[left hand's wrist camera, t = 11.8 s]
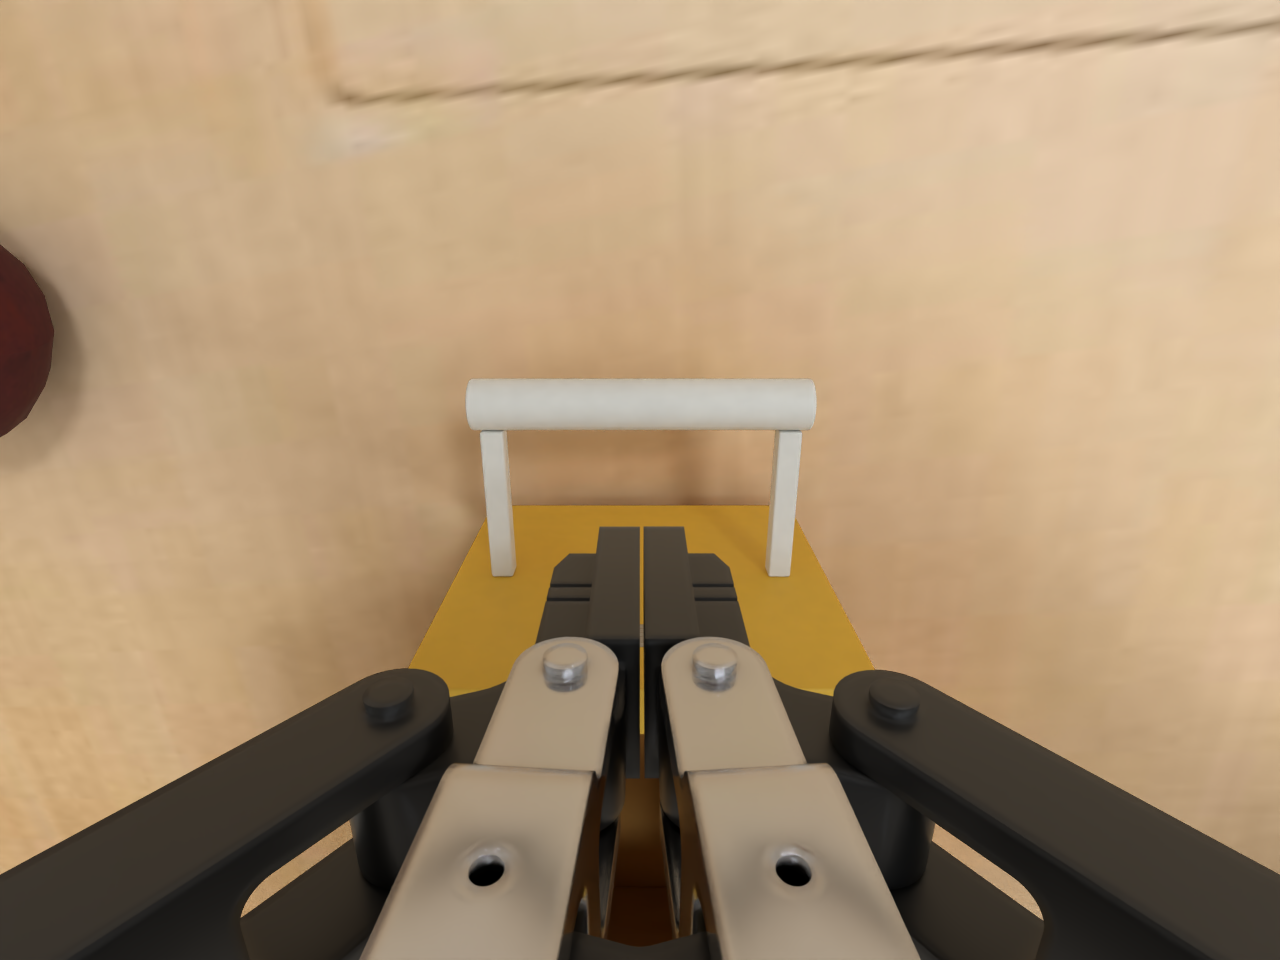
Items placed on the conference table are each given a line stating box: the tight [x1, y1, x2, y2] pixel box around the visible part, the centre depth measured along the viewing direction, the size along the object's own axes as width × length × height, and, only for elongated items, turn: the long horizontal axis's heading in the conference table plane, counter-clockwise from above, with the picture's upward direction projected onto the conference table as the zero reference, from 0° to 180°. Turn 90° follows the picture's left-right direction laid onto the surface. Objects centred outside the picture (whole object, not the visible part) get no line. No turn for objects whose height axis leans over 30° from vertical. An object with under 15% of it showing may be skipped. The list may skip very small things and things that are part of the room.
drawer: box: [408, 379, 875, 947], centre depth 21 cm, size 23×10×10 cm, turn 0°
